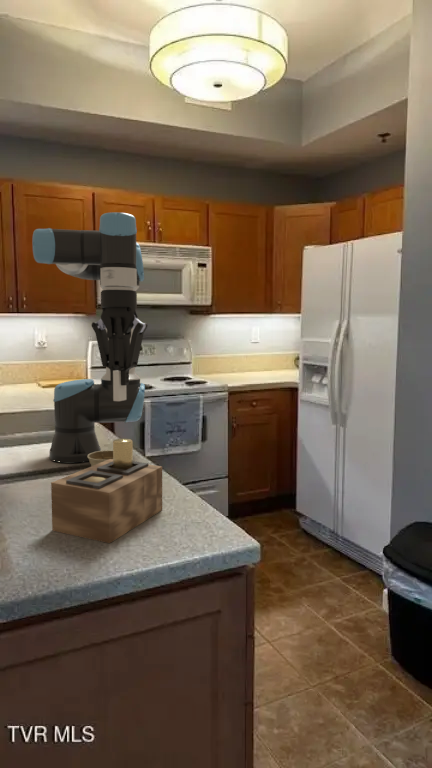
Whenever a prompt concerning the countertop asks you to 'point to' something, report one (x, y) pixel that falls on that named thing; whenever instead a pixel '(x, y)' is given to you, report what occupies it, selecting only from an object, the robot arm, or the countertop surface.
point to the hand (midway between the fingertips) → (119, 400)
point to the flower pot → (100, 456)
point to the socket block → (106, 500)
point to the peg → (123, 454)
